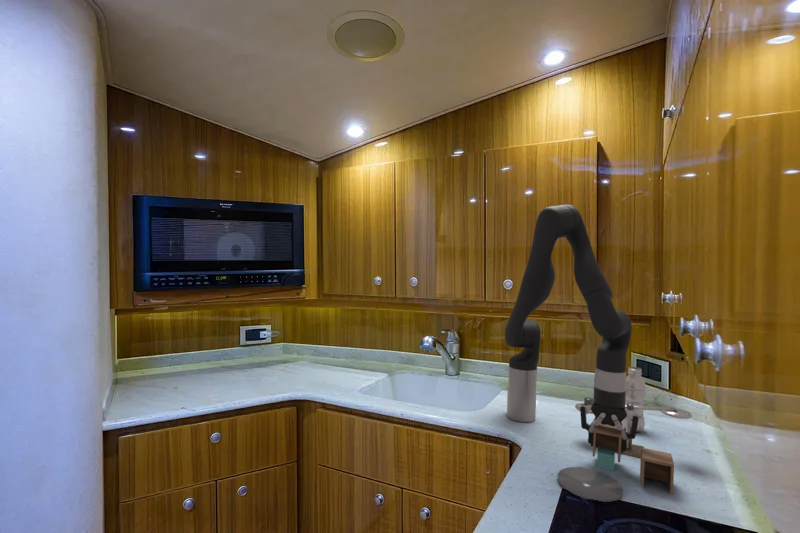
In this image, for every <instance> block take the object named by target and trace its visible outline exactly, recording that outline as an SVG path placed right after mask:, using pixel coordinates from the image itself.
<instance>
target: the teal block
mask: <svg viewBox="0 0 800 533" xmlns="http://www.w3.org/2000/svg"><path fill="white" fill-rule="evenodd" d="M615 457H616V452H615V450H613V449H608V448H603V447H599V446H598V448H597V456H596V459H597V460H596V468H599V469H603V470H608V471H612V472H615V461H616V460H615V459H616V458H615Z"/></svg>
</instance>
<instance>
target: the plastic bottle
mask: <svg viewBox="0 0 800 533" xmlns="http://www.w3.org/2000/svg"><path fill="white" fill-rule="evenodd" d="M642 372H643V371H642V368H640V367H636V366H629V367H628V371H627V374H628V375H626V400H625V405H627V404H632V405H633V406H644V399H645V394H646V388H647V385H646V382H645V381H644V379H643V377H642V376H643V374H642ZM625 410H626V412H627V409H625ZM634 413H636V414H637V415H638V419H639V420H638V425H637V431H636V433H639V432H643V430H644V429H645V424H646V423H645V417H644V410H633V414H634ZM626 420H627V417H626V418H625V419H624V420H623V421H622V424H623V427H624V429H625V430H626Z"/></svg>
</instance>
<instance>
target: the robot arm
mask: <svg viewBox="0 0 800 533" xmlns="http://www.w3.org/2000/svg"><path fill="white" fill-rule="evenodd" d="M535 222H536V223H535V228H534V232H533V237H532V238H533V239H532V244H531V248H530V253H529V256H528V259H527V265H526V267H525V271H524V273H523V276H522V279H521V282H520V287H519V291H518V293H517V297H516V301H515V303H514V305H513V309H512V310H511V313H510V316H509V318H508V320H507V323H506V326H505V328H504V329H505V330H504V340H505V342H506V345H507V346H509V347H511V348H523V349H522V350H521V351H520V352H519V353H517V354H515V355H512V356H510V358H509V360H508V381H507V383H508V386H507V396H506V397H507V399H506V400H507V401H506V413H507V415H506V416H507V417H508V418H509V419H510V420H512V421H515V422H519V423H531V422H534V421H535V420H536V415H537V413H536V412H537V410H536V409H537V387H538V386H537V383H538V382H537V380H538V377H537V376H538V364H539V360H540V359H539V358H540V348H541V338H542V337H541V336H542V334H541V327H540V324H539V323H538V321H536V320H532V319H528V318H529V316H530V315H531V314H532V313H533V312H534V311H536V310H537V309H538V308H539V307H540V306H541V305H542V304H544V303H545V302H546V300H547V299H548V298H549V297H550V295H551V291H552V289H553V286H554V283H555V280H556V270H555V267H554V264H553V262H552V261H553V260H552V255H553V251H554V248H555V245H556V242H557V241H558V239H560V238H565V239H566V240H567V242H568V244H569V245H570V247H571V249H572V254H573V275H574V280H575V283H576V285H577V287H578V289H579V291H580V293H581V295H582V297H583V300H584V302H586V307H587V311H588V315H589V318H590V321H591V324H592V326H593V329H594V330H595V332H596V333H597V334H598V335H599V336H600V337H601V338H602V341H601V345H600V346H598V348H597V351H596V357H595V358H596V361H595V362H596V363H595V373H594V378H593V379H594V380H593V398H592V399H593V404H592V406H585V404H581V407H580V411H579V413H580V425H581V429H583V430H586V431H587V433H588V437H587V443H588V444H590V447H593V438H594V427H595V428H596V427H598V425H599V424H600V423H601V424H603V425H610V426H614V427H615V426H616V427H617V429H618V431H619V432H620V433H622V438H621V453H623V451H626V447H627V439H630V438H631V439H632V440H634V439H636V436H637V432H636V431H637V425H638V420H639V419H638V415H637V414H636V413H634V414H631V413H627V412H626V410H625V400H626V377H627V374H626V372H627V352H628V349H629V345H630V340H631V337H632V330H633V329H632V325H633V324H632V321H631V318H630V316H629V315H628V313H626V312H625V311H623V310H619V309H615V306H614V303H613V301H612V299H613V296H614V294H613V291H612V289H611V287H610V284H608V281H607V280H606V278H605V275H604V274H603V272H602V270H601V268H600V265H599V263H598V261H597V258H596V255H595V253H594V250H593V247H592V243H591V241H590V237H589V235H588V232H587V228H586V225H585V222H584V220H583V216H582V215H581V213H580V211H579V210H578V208H576V206H574V205H572V204H560V205H550V206H547V207H544V208H543V209H542V210H541V211H540V212H539V214H538V216H537V219H536V221H535ZM590 410H591V411H592V412H593V414H592V415H594V418H593V419H592V422H591V423H590V424H589V423H588V421H587V415H589V414H590V413H589V411H590ZM626 417H628V418H629V422H631V428H630V432H626V429H625V428H624V427H623V424H622V421H623V420H624V419H625V418H626Z"/></svg>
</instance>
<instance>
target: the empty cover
mask: <svg viewBox="0 0 800 533" xmlns="http://www.w3.org/2000/svg"><path fill="white" fill-rule="evenodd" d="M639 468H640V469H639V476H640V477H639V478H640V480H639V481H640V486H641V488H644V486H645V485H644V484H645V478H649V479H652V480H657V481H662V482H666V483H667V486H668V488H669V489H668V490H669V494H670V495H673V494H674V479H675V478H674V477H675V462H674V459H673V455H672V453H670V452H665V451H661V450H655V449H650V448H646V447H644V448H642V447H641V458H640V465H639Z"/></svg>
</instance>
